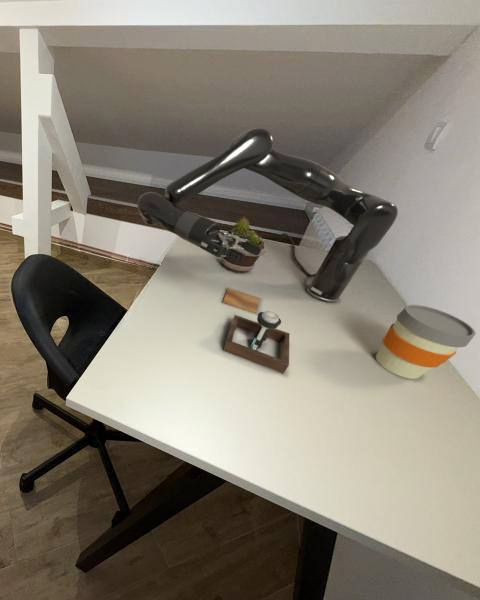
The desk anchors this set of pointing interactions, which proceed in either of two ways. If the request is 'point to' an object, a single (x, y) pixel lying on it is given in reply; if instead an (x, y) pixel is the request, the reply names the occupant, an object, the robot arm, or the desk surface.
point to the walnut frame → (255, 355)
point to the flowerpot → (249, 258)
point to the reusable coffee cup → (422, 341)
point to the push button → (264, 327)
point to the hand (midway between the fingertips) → (252, 255)
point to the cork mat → (241, 300)
